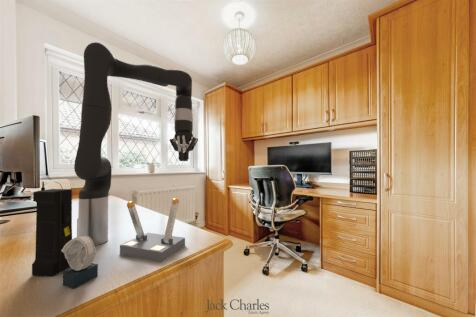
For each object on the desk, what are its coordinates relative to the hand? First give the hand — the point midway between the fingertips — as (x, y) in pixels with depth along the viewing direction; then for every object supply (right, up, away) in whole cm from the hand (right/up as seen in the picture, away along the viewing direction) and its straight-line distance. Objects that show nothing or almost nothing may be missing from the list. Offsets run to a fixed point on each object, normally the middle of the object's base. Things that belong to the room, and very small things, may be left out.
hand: (183, 160), depth 82 cm
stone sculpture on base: (-17, -30, -33) cm, 48 cm away
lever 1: (-11, -27, -14) cm, 32 cm away
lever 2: (-1, -27, -17) cm, 32 cm away
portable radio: (-28, -31, -28) cm, 50 cm away
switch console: (-6, -31, -16) cm, 35 cm away
